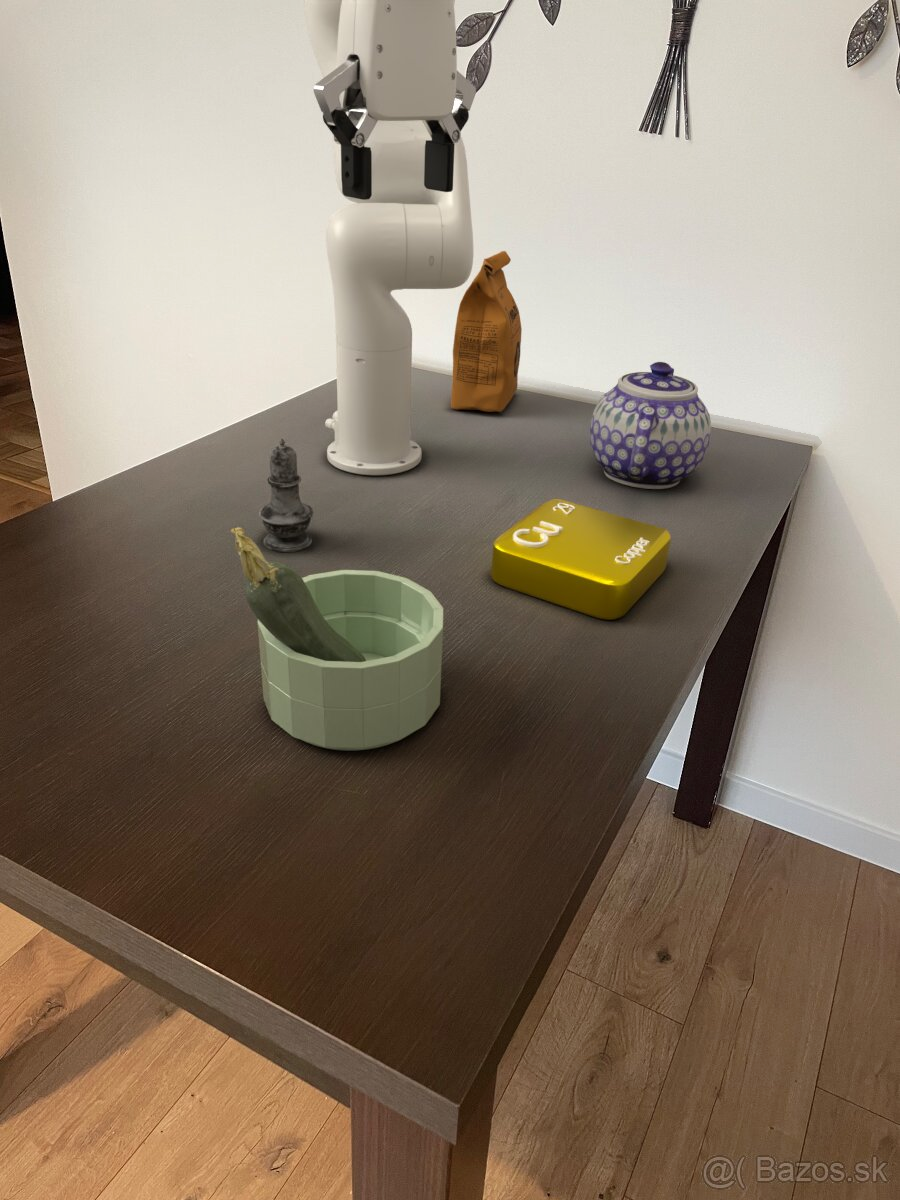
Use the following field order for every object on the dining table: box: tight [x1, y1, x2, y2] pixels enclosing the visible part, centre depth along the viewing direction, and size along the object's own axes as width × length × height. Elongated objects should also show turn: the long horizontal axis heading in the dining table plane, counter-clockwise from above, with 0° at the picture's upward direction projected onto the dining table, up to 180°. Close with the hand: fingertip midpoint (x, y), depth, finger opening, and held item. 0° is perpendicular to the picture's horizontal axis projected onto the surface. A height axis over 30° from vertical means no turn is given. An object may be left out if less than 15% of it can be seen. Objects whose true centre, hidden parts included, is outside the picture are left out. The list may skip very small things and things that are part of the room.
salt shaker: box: [258, 438, 314, 553], centre depth 99 cm, size 6×6×12 cm
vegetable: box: [230, 526, 366, 662], centre depth 70 cm, size 4×4×20 cm
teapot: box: [589, 361, 712, 490], centre depth 118 cm, size 25×15×15 cm, turn 160°
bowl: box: [256, 569, 444, 752], centre depth 76 cm, size 15×15×8 cm
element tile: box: [490, 498, 672, 621], centre depth 97 cm, size 15×15×5 cm
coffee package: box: [450, 250, 522, 413], centre depth 139 cm, size 10×12×22 cm
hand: (399, 193), depth 82 cm, fingers open, 9 cm apart
